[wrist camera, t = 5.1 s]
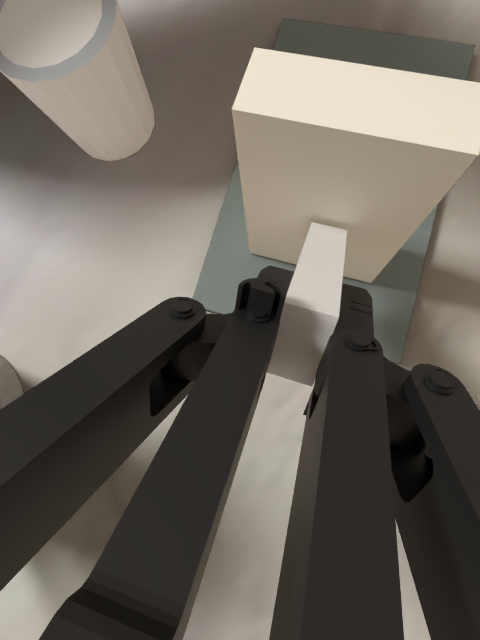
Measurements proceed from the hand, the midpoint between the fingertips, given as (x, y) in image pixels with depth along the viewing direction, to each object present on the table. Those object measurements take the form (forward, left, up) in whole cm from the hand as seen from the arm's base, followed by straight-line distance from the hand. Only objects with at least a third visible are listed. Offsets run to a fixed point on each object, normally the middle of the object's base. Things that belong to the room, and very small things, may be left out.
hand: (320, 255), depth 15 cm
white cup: (-16, -7, -5) cm, 18 cm away
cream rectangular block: (-2, +1, -4) cm, 5 cm away
